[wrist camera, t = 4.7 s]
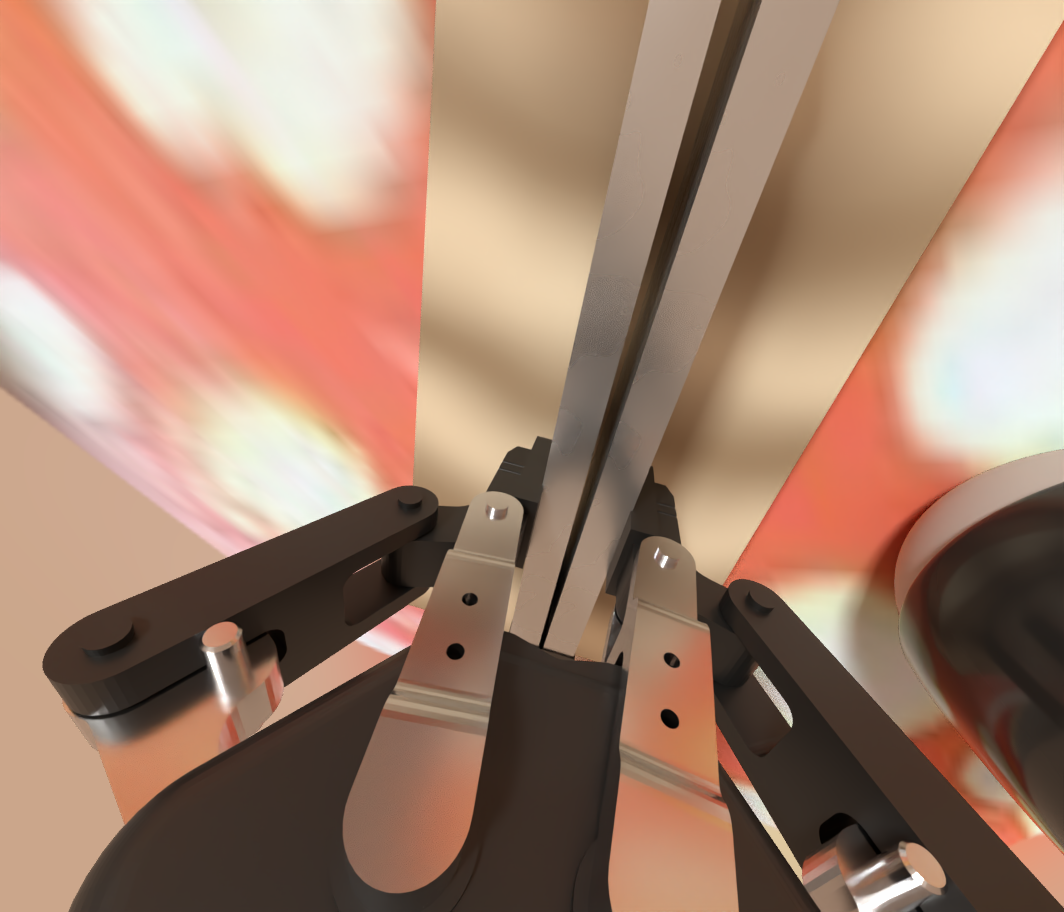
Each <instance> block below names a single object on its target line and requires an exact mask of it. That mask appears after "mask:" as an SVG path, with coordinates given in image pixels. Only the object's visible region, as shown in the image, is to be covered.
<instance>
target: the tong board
mask: <svg viewBox="0 0 1064 912" xmlns="http://www.w3.org/2000/svg"><path fill="white" fill-rule="evenodd" d="M738 3H739V0H721V3H720V7H719V10H718V14H717V17H716V21H715V24H714V28H713V31H712V35H711V38H710V42H709V45H708V49H707V53H706V56H705V60H704V63H703V67H702V70H701V74H700V77H699V81H698V84H697V88H696V91H695V95H694V98H693V102H692V106H691V109H690V113H689V116H688V120H687V123H686V127H685V130H684V134H683V137H682V141H681V144H680V148H679V151H678V155H677V159H676V162H675V166H674V169H673V173H672V176H671V180H670V183H669V187H668V190H667V194H666V197H665V201H664V204H663V208H662V212H661V215H660V219H659V222H658V226H657V229H656V233H655V236H654V240H653V243H652V247H651V250H650V254H649V258H648V261H647V265H646V268H645V272H644V275H643V279H642V282H641V286H640V289H639V293H638V296H637V300H636V303H635V307H634V311H633V314H632V318H631V321H630V325H629V328H628V332H627V335H626V339H625V342H624V346H623V349H622V353H621V356H620V360H619V364H618V367H617V371H616V374H615V378H614V381H613V385H612V388H611V392H610V395H609V399H608V402H607V406H606V409H605V413H604V417H603V420H602V424H601V427H600V431H599V434H598V438H597V441H596V445H595V448H594V452H593V455H592V459H591V462H590V466H589V470H588V473H587V477H588V474H589V471H590V468H591V465H592V462H593V459H594V455H595V452H596V449H597V446H598V443H599V440H600V437H601V433H602V430H603V427H604V424H605V421H606V418H607V415H608V411H609V408H610V405H611V402H612V399H613V396H614V393H615V389H616V386H617V383H618V380H619V377H620V374H621V371H622V367H623V364H624V361H625V358H626V355H627V352H628V349H629V345H630V342H631V339H632V336H633V333H634V330H635V327H636V323H637V320H638V317H639V314H640V311H641V308H642V305H643V301H644V298H645V295H646V292H647V289H648V286H649V283H650V279H651V276H652V273H653V270H654V267H655V264H656V261H657V257H658V254H659V251H660V248H661V245H662V242H663V239H664V235H665V232H666V229H667V226H668V223H669V220H670V217H671V213H672V210H673V207H674V204H675V201H676V198H677V195H678V192H679V188H680V185H681V182H682V179H683V176H684V173H685V170H686V166H687V163H688V160H689V157H690V154H691V151H692V148H693V144H694V141H695V138H696V135H697V132H698V129H699V126H700V122H701V119H702V116H703V113H704V110H705V107H706V104H707V100H708V97H709V94H710V91H711V88H712V85H713V82H714V78H715V75H716V72H717V69H718V66H719V63H720V60H721V56H722V53H723V50H724V47H725V44H726V41H727V38H728V34H729V31H730V28H731V25H732V22H733V19H734V16H735V12H736V9H737V6H738ZM648 5H649V0H436V12H435V33H434V54H433V75H432V96H431V117H430V138H429V159H428V180H427V201H426V222H425V243H424V264H423V285H422V306H421V327H420V348H419V369H418V389H417V410H416V431H415V452H414V473H413V486H419V487H423V488H426V489H428V490H430V491H431V492H433V493H434V494H435V495H436V496H437V498H438V501H439V506H466V505H470V503H471V501H472V499H473V498H474V497H475V496H477V495H478V494H480V493H484V492H486V491H487V489H488V487H489V485H490V483H491V482H492V480H493V478H494V476H495V474H496V472H497V470H498V469H499V467H500V465H501V463H502V462H503V459H504V458H505V456H506V454H507V452H508V451H510V450H512V449H514V448H515V447H517V446H520V447H523V448H527V449H532V447H533V444H534V442H535V440H536V438H537V436H540V437H544V438H548V439H553V435H554V430H555V426H556V421H557V417H558V412H559V408H560V403H561V399H562V394H563V389H564V385H565V380H566V376H567V371H568V367H569V362H570V358H571V353H572V349H573V344H574V340H575V335H576V331H577V326H578V322H579V317H580V313H581V308H582V303H583V299H584V294H585V290H586V285H587V281H588V276H589V272H590V267H591V263H592V258H593V254H594V249H595V245H596V240H597V236H598V231H599V226H600V222H601V217H602V213H603V208H604V204H605V199H606V195H607V190H608V186H609V181H610V177H611V172H612V168H613V163H614V159H615V154H616V150H617V145H618V140H619V136H620V131H621V127H622V122H623V118H624V113H625V109H626V104H627V100H628V95H629V91H630V86H631V82H632V77H633V73H634V68H635V63H636V59H637V54H638V50H639V45H640V41H641V36H642V32H643V27H644V23H645V18H646V14H647V9H648ZM1063 20H1064V0H840V1H839V3H838V6H837V8H836V11H835V13H834V16H833V18H832V21H831V23H830V26H829V28H828V30H827V33H826V35H825V38H824V40H823V43H822V45H821V48H820V50H819V53H818V55H817V58H816V60H815V63H814V65H813V67H812V70H811V72H810V75H809V77H808V80H807V82H806V85H805V87H804V90H803V92H802V95H801V97H800V100H799V102H798V104H797V107H796V109H795V112H794V114H793V117H792V119H791V122H790V124H789V127H788V129H787V132H786V134H785V136H784V139H783V141H782V144H781V146H780V149H779V151H778V154H777V156H776V159H775V161H774V164H773V166H772V169H771V171H770V173H769V176H768V178H767V181H766V183H765V186H764V188H763V191H762V193H761V196H760V198H759V201H758V203H757V205H756V208H755V210H754V213H753V215H752V218H751V220H750V223H749V225H748V228H747V230H746V233H745V235H744V238H743V240H742V242H741V245H740V247H739V250H738V252H737V255H736V257H735V260H734V262H733V265H732V267H731V270H730V272H729V274H728V277H727V279H726V282H725V284H724V287H723V289H722V292H721V294H720V297H719V299H718V302H717V304H716V307H715V309H714V311H713V314H712V316H711V319H710V321H709V324H708V326H707V329H706V331H705V334H704V336H703V339H702V341H701V343H700V346H699V348H698V351H697V353H696V356H695V358H694V361H693V363H692V366H691V368H690V371H689V373H688V376H687V378H686V380H685V383H684V385H683V388H682V390H681V393H680V395H679V398H678V400H677V403H676V405H675V408H674V410H673V413H672V415H671V417H670V420H669V422H668V425H667V427H666V430H665V432H664V435H663V437H662V440H661V442H660V445H659V447H658V449H657V452H656V454H655V457H654V459H653V462H652V464H651V466H653V470H654V481H655V483H658V484H662V485H666V487H667V488H668V489H669V491H670V492H671V493H672V495H673V496H674V501H675V509H676V514H677V517H676V518H677V520H678V526H679V533H680V539H681V545H682V546H683V547H684V548H686V549H687V550H688V551H689V552H690V554H691V555H692V556H693V558H694V560H695V564H696V570H697V571H698V572H699V573H700V574H702V575H703V576H705V577H707V578H709V579H710V580H712V581H714V582H716V583H718V584H720V585H723V584H724V582H725V580H726V579H727V577H728V575H729V574H730V572H731V570H732V569H733V567H734V566H735V564H736V562H737V561H738V559H739V557H740V556H741V554H742V552H743V551H744V549H745V547H746V546H747V544H748V542H749V541H750V539H751V537H752V536H753V534H754V532H755V531H756V529H757V527H758V526H759V524H760V522H761V521H762V519H763V517H764V516H765V514H766V512H767V511H768V509H769V507H770V506H771V504H772V503H773V501H774V499H775V498H776V496H777V494H778V493H779V491H780V489H781V488H782V486H783V484H784V483H785V481H786V479H787V478H788V476H789V474H790V473H791V471H792V469H793V468H794V466H795V464H796V463H797V461H798V459H799V458H800V456H801V454H802V453H803V451H804V449H805V448H806V446H807V445H808V443H809V441H810V440H811V438H812V436H813V435H814V433H815V431H816V430H817V428H818V426H819V425H820V423H821V421H822V420H823V418H824V416H825V415H826V413H827V411H828V410H829V408H830V406H831V405H832V403H833V401H834V400H835V398H836V396H837V395H838V393H839V391H840V390H841V388H842V386H843V385H844V383H845V382H846V380H847V378H848V377H849V375H850V373H851V372H852V370H853V368H854V367H855V365H856V363H857V362H858V360H859V358H860V357H861V355H862V353H863V352H864V350H865V348H866V347H867V345H868V343H869V342H870V340H871V338H872V337H873V335H874V333H875V332H876V330H877V328H878V327H879V325H880V323H881V322H882V320H883V319H884V317H885V315H886V314H887V312H888V310H889V309H890V307H891V305H892V304H893V302H894V300H895V299H896V297H897V295H898V294H899V292H900V290H901V289H902V287H903V285H904V284H905V282H906V280H907V279H908V277H909V275H910V274H911V272H912V270H913V269H914V267H915V265H916V264H917V262H918V261H919V259H920V257H921V256H922V254H923V252H924V251H925V249H926V247H927V246H928V244H929V242H930V241H931V239H932V237H933V236H934V234H935V232H936V231H937V229H938V227H939V226H940V224H941V222H942V221H943V219H944V217H945V216H946V214H947V212H948V211H949V209H950V207H951V206H952V204H953V202H954V201H955V199H956V198H957V196H958V194H959V193H960V191H961V189H962V188H963V186H964V184H965V183H966V181H967V179H968V178H969V176H970V174H971V173H972V171H973V169H974V168H975V166H976V164H977V163H978V161H979V159H980V158H981V156H982V154H983V153H984V151H985V149H986V148H987V146H988V144H989V143H990V141H991V140H992V138H993V136H994V135H995V133H996V131H997V130H998V128H999V126H1000V125H1001V123H1002V121H1003V120H1004V118H1005V116H1006V115H1007V113H1008V111H1009V110H1010V108H1011V106H1012V105H1013V103H1014V101H1015V100H1016V98H1017V96H1018V95H1019V93H1020V91H1021V90H1022V88H1023V86H1024V85H1025V83H1026V81H1027V80H1028V78H1029V77H1030V75H1031V73H1032V72H1033V70H1034V68H1035V67H1036V65H1037V63H1038V62H1039V60H1040V58H1041V57H1042V55H1043V53H1044V52H1045V50H1046V48H1047V47H1048V45H1049V43H1050V42H1051V40H1052V38H1053V37H1054V35H1055V33H1056V32H1057V30H1058V28H1059V27H1060V25H1061V23H1062V22H1063ZM587 477H586V480H585V484H586V481H587ZM585 484H584V487H585ZM584 487H583V490H584ZM582 493H583V491H582ZM581 496H582V494H581ZM580 499H581V498H580ZM579 503H580V501H579ZM578 506H579V505H578ZM577 509H578V508H577ZM525 562H526V560H525ZM524 566H525V563H524ZM524 566H523V569H521V568H518V567H515V569H514V574H513V580H512V586H511V592H510V597H509V603H508V609H507V615H506V620H505V626H504V631H506V632H509V630H510V626H511V623H512V619H513V616H514V611H515V607H516V602H517V598H518V593H519V589H520V584H521V580H522V575H523V571H524ZM433 588H434V587H430V588H429V589H428V591H427V592H426V593H424V594H423V595H422V596H420V597H419V598H417V599H416V600H414V601H413V602H411V603H410V604H408V605H411V606H415V607H418V608H421V609H424V610H425V608H426V606H427V603H428V601H429V598H430V595H431V593H432V590H433ZM605 589H606V578H605V580H604V583H603V585H602V587H601V590H600V592H599V595H598V597H597V600H596V602H595V605H594V607H593V610H592V612H591V615H590V617H589V620H588V622H587V624H586V627H585V629H584V632H583V634H582V637H581V639H580V642H579V644H578V647H577V649H576V652H575V655H576V656H579V657H582V658H585V659H589V660H592V661H595V662H601V660H602V655H603V650H604V645H605V640H606V635H607V630H608V625H609V620H610V616H611V613H612V611H613V609H614V606H615V604H616V596H613V595H610V594H606V593H605Z"/></svg>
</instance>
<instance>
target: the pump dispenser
mask: <svg viewBox="0 0 1064 912" xmlns="http://www.w3.org/2000/svg"><path fill="white" fill-rule="evenodd" d="M894 589H895V600H896V605H897V609H898V614H899V625H898V629H899V639H900V644H901V647H902V650H903V653H904V655H905V657H906V659H907V661H908V663H909V665H910V666H911V668H912V670H913V671H914V673H915V675H916V676H917V678H918V679H919V681H920V682H921V684H922V685H923V687H924V688H925V690H926V691H927V693H928V694H929V696H930V697H931V698H932V700H933V701H934V703H935V704H936V705H937V707H938V708H939V709H940V710H941V712H942V713H943V714H944V716H945V717H946V718H947V719H948V721H949V722H950V723H951V724H952V726H953V727H954V728H955V729H956V731H957V732H958V733H959V734H960V736H961V737H962V738H963V739H964V740H965V742H966V743H967V744H968V745H969V747H970V748H971V749H972V750H973V751H974V753H975V754H976V755H977V756H978V758H979V759H980V760H981V761H982V762H983V764H984V765H985V766H986V767H987V768H988V770H989V771H990V772H991V773H992V774H993V776H994V777H995V778H996V779H997V780H998V782H999V783H1000V784H1001V785H1002V786H1003V787H1004V789H1005V790H1006V791H1007V792H1008V793H1009V794H1010V796H1011V797H1012V798H1013V799H1014V800H1015V801H1016V803H1017V804H1018V805H1019V806H1020V807H1021V808H1022V809H1023V811H1024V812H1025V813H1026V814H1027V815H1028V816H1029V817H1030V819H1031V820H1032V821H1033V822H1034V823H1035V824H1036V825H1037V826H1038V828H1039V829H1040V830H1041V831H1042V832H1043V833H1044V834H1045V835H1046V836H1047V837H1048V839H1049V840H1050V841H1051V842H1052V843H1053V844H1054V845H1055V846H1056V847H1057V848H1058V849H1059V850H1060V852H1061V853H1062V854H1063V855H1064V449H1061V450H1056V451H1051V452H1046V453H1040V454H1037V455H1033V456H1029V457H1025V458H1021V459H1018V460H1015V461H1012V462H1009V463H1006V464H1003V465H1000V466H998V467H995V468H992V469H990V470H988V471H985V472H983V473H981V474H979V475H977V476H975V477H973V478H971V479H969V480H967V481H965V482H963V483H962V484H960V485H958V486H957V487H955V488H954V489H952V490H951V491H949V492H948V493H946V494H945V495H944V496H942V497H941V498H940V499H939V500H937V501H936V502H935V503H934V504H933V505H932V506H931V507H929V508H928V509H927V510H926V511H925V512H924V513H923V515H922V516H921V517H920V518H919V519H918V520H917V522H916V523H915V524H914V526H913V527H912V529H911V530H910V531H909V533H908V535H907V537H906V539H905V541H904V542H903V544H902V547H901V550H900V552H899V555H898V559H897V563H896V568H895V578H894Z"/></svg>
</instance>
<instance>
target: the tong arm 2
mask: <svg viewBox="0 0 1064 912" xmlns="http://www.w3.org/2000/svg"><path fill="white" fill-rule="evenodd" d="M839 1H840V0H739V3H738V6H737V9H736V12H735V16H734V19H733V22H732V25H731V28H730V31H729V34H728V38H727V41H726V44H725V47H724V50H723V53H722V56H721V60H720V63H719V66H718V69H717V72H716V75H715V78H714V82H713V85H712V88H711V91H710V94H709V97H708V100H707V104H706V107H705V110H704V113H703V116H702V119H701V122H700V126H699V129H698V132H697V135H696V138H695V141H694V144H693V148H692V151H691V154H690V157H689V160H688V163H687V166H686V170H685V173H684V176H683V179H682V182H681V185H680V188H679V192H678V195H677V198H676V201H675V204H674V207H673V210H672V213H671V217H670V220H669V223H668V226H667V229H666V232H665V235H664V239H663V242H662V245H661V248H660V251H659V254H658V257H657V261H656V264H655V267H654V270H653V273H652V276H651V279H650V283H649V286H648V289H647V292H646V295H645V298H644V301H643V305H642V308H641V311H640V314H639V317H638V320H637V323H636V327H635V330H634V333H633V336H632V339H631V342H630V345H629V349H628V352H627V355H626V358H625V361H624V364H623V367H622V371H621V374H620V377H619V380H618V383H617V386H616V389H615V393H614V396H613V399H612V402H611V405H610V408H609V411H608V415H607V418H606V421H605V424H604V427H603V430H602V433H601V437H600V440H599V443H598V446H597V449H596V452H595V455H594V459H593V462H592V465H591V468H590V471H589V474H588V477H587V481H586V484H585V487H584V490H583V493H582V496H581V499H580V503H579V506H578V509H577V512H576V515H575V519H574V523H573V526H572V530H571V533H570V537H569V540H568V544H567V547H566V551H565V554H564V558H563V561H562V565H561V569H560V572H559V576H558V579H557V583H556V586H555V590H554V593H553V597H552V600H551V604H550V607H549V611H548V614H547V618H546V622H545V625H544V630H543V635H542V639H541V644H540V649H541V650H543V651H545V652H546V653H548V654H550V655H551V656H553V657H555V658H557V659H561V660H574V658H575V652H576V649H577V647H578V644H579V642H580V639H581V637H582V634H583V632H584V629H585V627H586V624H587V622H588V620H589V617H590V615H591V612H592V610H593V607H594V605H595V602H596V600H597V597H598V595H599V592H600V590H601V587H602V585H603V583H604V580H605V578H606V575H607V571H608V568H609V566H610V563H611V560H612V558H613V555H614V553H615V550H616V548H617V545H618V542H619V540H620V537H621V535H622V532H623V529H624V527H625V524H626V522H627V519H628V516H629V514H630V511H633V509H634V506H635V504H636V501H637V499H638V496H639V494H640V491H641V489H642V486H643V484H644V482H645V479H646V477H647V474H648V472H649V469H650V467H651V464H652V462H653V459H654V457H655V454H656V452H657V449H658V447H659V445H660V442H661V440H662V437H663V435H664V432H665V430H666V427H667V425H668V422H669V420H670V417H671V415H672V413H673V410H674V408H675V405H676V403H677V400H678V398H679V395H680V393H681V390H682V388H683V385H684V383H685V380H686V378H687V376H688V373H689V371H690V368H691V366H692V363H693V361H694V358H695V356H696V353H697V351H698V348H699V346H700V343H701V341H702V339H703V336H704V334H705V331H706V329H707V326H708V324H709V321H710V319H711V316H712V314H713V311H714V309H715V307H716V304H717V302H718V299H719V297H720V294H721V292H722V289H723V287H724V284H725V282H726V279H727V277H728V274H729V272H730V270H731V267H732V265H733V262H734V260H735V257H736V255H737V252H738V250H739V247H740V245H741V242H742V240H743V238H744V235H745V233H746V230H747V228H748V225H749V223H750V220H751V218H752V215H753V213H754V210H755V208H756V205H757V203H758V201H759V198H760V196H761V193H762V191H763V188H764V186H765V183H766V181H767V178H768V176H769V173H770V171H771V169H772V166H773V164H774V161H775V159H776V156H777V154H778V151H779V149H780V146H781V144H782V141H783V139H784V136H785V134H786V132H787V129H788V127H789V124H790V122H791V119H792V117H793V114H794V112H795V109H796V107H797V104H798V102H799V100H800V97H801V95H802V92H803V90H804V87H805V85H806V82H807V80H808V77H809V75H810V72H811V70H812V67H813V65H814V63H815V60H816V58H817V55H818V53H819V50H820V48H821V45H822V43H823V40H824V38H825V35H826V33H827V30H828V28H829V26H830V23H831V21H832V18H833V16H834V13H835V11H836V8H837V6H838V3H839Z"/></svg>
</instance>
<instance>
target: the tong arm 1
mask: <svg viewBox="0 0 1064 912" xmlns="http://www.w3.org/2000/svg"><path fill="white" fill-rule="evenodd" d="M720 3H721V0H649V5H648V9H647V14H646V18H645V23H644V27H643V32H642V36H641V41H640V45H639V50H638V54H637V59H636V63H635V68H634V73H633V77H632V82H631V86H630V91H629V95H628V100H627V104H626V109H625V113H624V118H623V122H622V127H621V131H620V136H619V140H618V145H617V150H616V154H615V159H614V163H613V168H612V172H611V177H610V181H609V186H608V190H607V195H606V199H605V204H604V208H603V213H602V217H601V222H600V226H599V231H598V236H597V240H596V245H595V249H594V254H593V258H592V263H591V267H590V272H589V276H588V281H587V285H586V290H585V294H584V299H583V303H582V308H581V313H580V317H579V322H578V326H577V331H576V335H575V340H574V344H573V349H572V353H571V358H570V362H569V367H568V371H567V376H566V380H565V385H564V389H563V394H562V399H561V403H560V408H559V412H558V417H557V421H556V426H555V430H554V435H553V439H552V444H551V448H550V453H549V457H548V462H547V466H546V471H545V476H544V480H543V485H542V487H544V488H543V492H542V496H541V501H540V505H539V509H538V513H537V517H536V521H535V525H534V529H533V534H532V538H531V542H530V546H529V550H528V554H527V557H526V562H525V566H524V571H523V575H522V580H521V584H520V589H519V593H518V598H517V602H516V607H515V611H514V616H513V619H512V623H511V626H510V630H509V632H510V633H513V634H515V635H517V636H519V637H520V638H522V639H524V640H526V641H527V642H529V643H531V644H532V645H534V646H536V647H538V648H539V649H540V644H541V639H542V635H543V630H544V625H545V622H546V618H547V614H548V611H549V607H550V604H551V600H552V597H553V593H554V590H555V586H556V583H557V579H558V576H559V572H560V569H561V565H562V561H563V558H564V554H565V551H566V547H567V544H568V540H569V537H570V533H571V530H572V526H573V523H574V519H575V515H576V512H577V508H578V505H579V501H580V498H581V494H582V491H583V487H584V484H585V480H586V477H587V473H588V470H589V466H590V462H591V459H592V455H593V452H594V448H595V445H596V441H597V438H598V434H599V431H600V427H601V424H602V420H603V417H604V413H605V409H606V406H607V402H608V399H609V395H610V392H611V388H612V385H613V381H614V378H615V374H616V371H617V367H618V364H619V360H620V356H621V353H622V349H623V346H624V342H625V339H626V335H627V332H628V328H629V325H630V321H631V318H632V314H633V311H634V307H635V303H636V300H637V296H638V293H639V289H640V286H641V282H642V279H643V275H644V272H645V268H646V265H647V261H648V258H649V254H650V250H651V247H652V243H653V240H654V236H655V233H656V229H657V226H658V222H659V219H660V215H661V212H662V208H663V204H664V201H665V197H666V194H667V190H668V187H669V183H670V180H671V176H672V173H673V169H674V166H675V162H676V159H677V155H678V151H679V148H680V144H681V141H682V137H683V134H684V130H685V127H686V123H687V120H688V116H689V113H690V109H691V106H692V102H693V98H694V95H695V91H696V88H697V84H698V81H699V77H700V74H701V70H702V67H703V63H704V60H705V56H706V53H707V49H708V45H709V42H710V38H711V35H712V31H713V28H714V24H715V21H716V17H717V14H718V10H719V7H720Z"/></svg>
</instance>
